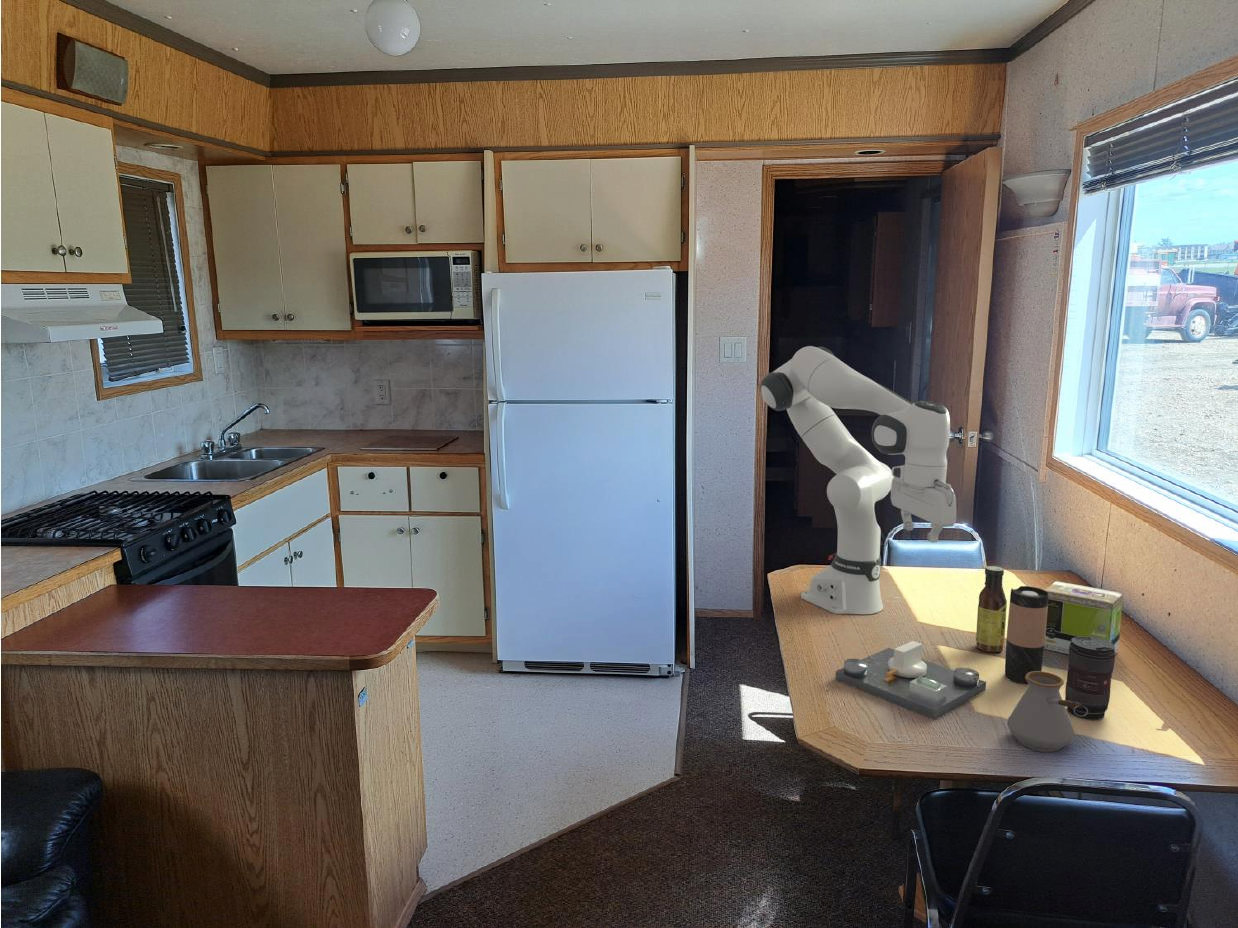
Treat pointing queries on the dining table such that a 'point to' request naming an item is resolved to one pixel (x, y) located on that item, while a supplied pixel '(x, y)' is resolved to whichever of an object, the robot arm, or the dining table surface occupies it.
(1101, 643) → the camera lens
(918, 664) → the knob
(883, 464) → the robot arm
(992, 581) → the sauce bottle
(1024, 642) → the travel mug
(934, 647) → the dining table surface
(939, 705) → the levelling base
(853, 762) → the dining table surface
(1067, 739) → the coffee pot
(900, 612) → the dining table surface
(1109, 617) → the tea box
